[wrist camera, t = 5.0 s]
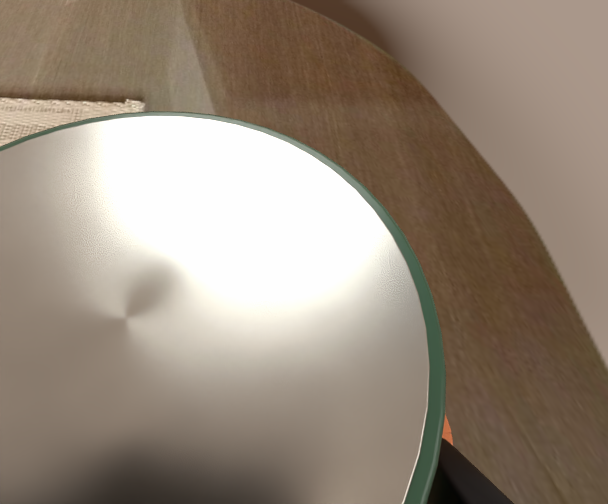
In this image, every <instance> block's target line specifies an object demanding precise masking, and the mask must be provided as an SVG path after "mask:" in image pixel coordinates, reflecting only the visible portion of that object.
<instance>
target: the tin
mask: <svg viewBox="0 0 608 504" xmlns="http://www.w3.org/2000/svg"><path fill="white" fill-rule="evenodd" d="M445 394H446V370H445V361H444V352H443V343H442V334H441V329H440V325H439V321H438V317H437V313H436V309H435V304H434V300H433V296H432V293H431V291H430V288H429V286H428V283H427V280H426V278H425V275H424V273H423V270H422V268H421V265H420V263H419V261H418V259H417V257H416V255H415V253H414V252H413V250H412V248H411V246H410V244H409V242H408V241H407V239H406V237H405V235H404V233H403V232H402V231H401V229H400V228H399V226H398V225H397V224H396V222H395V221H394V220H393V218H392V217H391V215H390V214H389V213H388V211H387V210H386V209H385V207H384V206H383V205H382V204H381V203H380V202H379V201H378V200H377V199H376V198H375V197H374V196H373V194H372V193H371V192H370V191H369V190H368V189H367V188H366V187H365V186H364V185H363V184H362V183H360V182H359V181H358V180H357V179H356V178H355V177H353V176H352V175H351V174H350V173H349V172H348V171H346V170H345V169H344V168H343V167H341V166H340V165H338V164H337V163H335V162H334V161H332V160H331V159H329V158H328V157H326V156H325V155H323V154H322V153H320V152H319V151H317V150H315V149H313V148H311V147H309V146H307V145H306V144H304V143H302V142H300V141H298V140H296V139H294V138H292V137H289V136H287V135H284V134H282V133H279V132H277V131H274V130H272V129H269V128H266V127H263V126H259V125H256V124H252V123H249V122H246V121H242V120H238V119H232V118H227V117H222V116H217V115H211V114H201V113H191V112H164V111H151V112H137V113H123V114H116V115H109V116H103V117H96V118H90V119H86V120H82V121H77V122H73V123H69V124H64V125H60V126H57V127H53V128H50V129H47V130H44V131H41V132H38V133H34V134H31V135H28V136H25V137H23V138H20V139H18V140H15V141H13V142H10V143H8V144H5V145H3V146H0V504H427V501H428V498H429V494H430V491H431V487H432V484H433V480H434V477H435V473H436V470H437V466H438V460H439V454H440V447H441V441H442V434H443V428H444V421H445Z"/></svg>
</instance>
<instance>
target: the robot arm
mask: <svg viewBox="0 0 608 504" xmlns="http://www.w3.org/2000/svg"><path fill="white" fill-rule="evenodd" d="M427 504H514V503H513V502H512V501H511V500H510V499H509V498H507V497H506V496H505V495H504V494H503V493H502V492H501V491H500V490H499V489H498V488H497V487H496V486H495V485H494V484H493V483H492V482H491V481H490V480H488V479H487V478H486V477H485V476H484V475H483V474H482V473H481V472H480V471H479V470H478V469H477V468H476V467H475V466H474V465H473V464H472V463H471V462H469V461H468V460H467V459H466V458H465V457H464V456H463V455H462V454H461V453H460V452H459V451H458V450H457V449H456V448H455V447H454V446H453V445H452V444H451V443H449V442H448V441H447V440H446V439H444V438H442V441H441V447H440V454H439V460H438V466H437V470H436V473H435V477H434V480H433V484H432V487H431V491H430V494H429V498H428V501H427Z"/></svg>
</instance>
